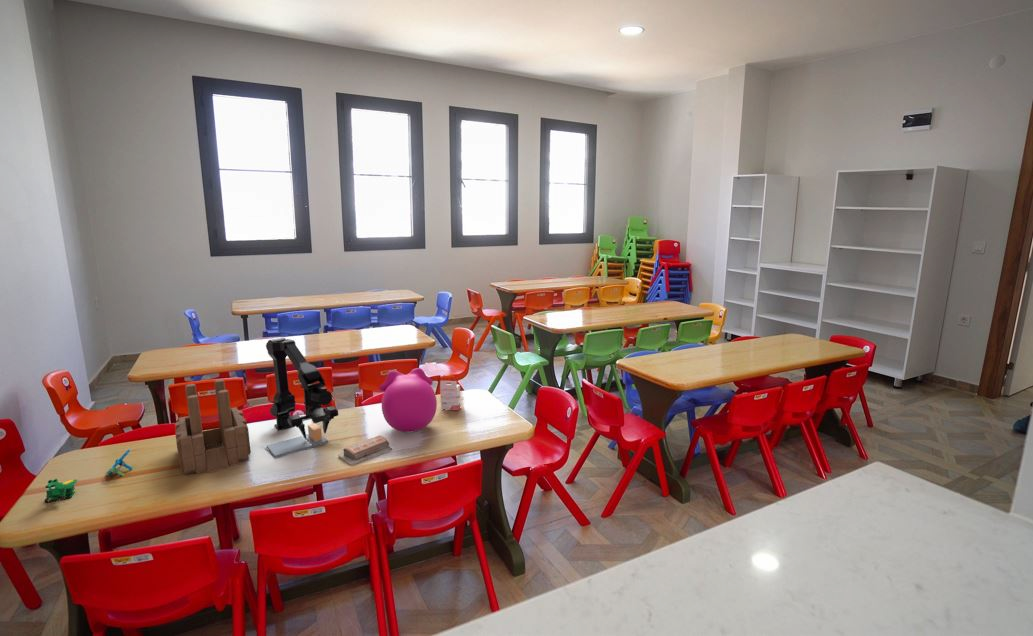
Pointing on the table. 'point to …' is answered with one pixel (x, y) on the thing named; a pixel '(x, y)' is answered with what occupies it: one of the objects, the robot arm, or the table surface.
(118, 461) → the blue green toy
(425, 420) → the figurine
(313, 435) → the stub
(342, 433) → the table surface
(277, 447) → the ticket board
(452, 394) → the ink cartridge box
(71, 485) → the crocodile
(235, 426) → the wooden toy structure
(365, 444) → the packaged product
